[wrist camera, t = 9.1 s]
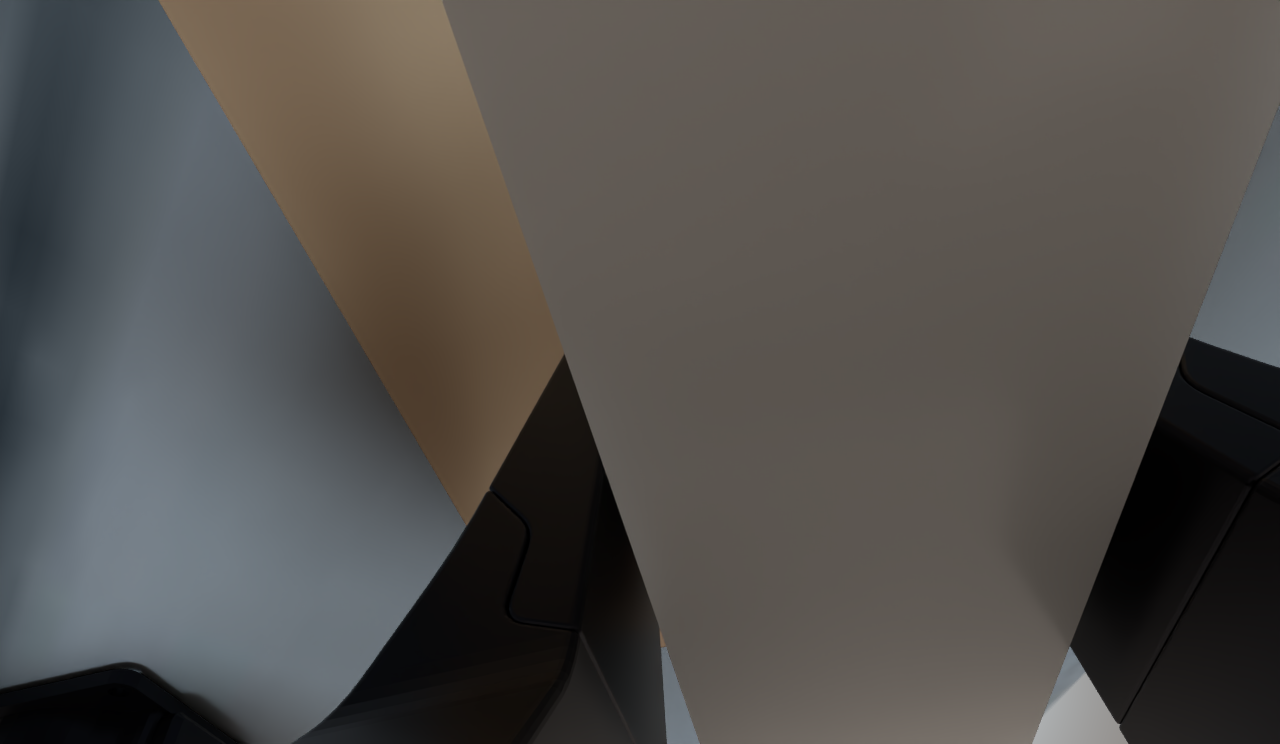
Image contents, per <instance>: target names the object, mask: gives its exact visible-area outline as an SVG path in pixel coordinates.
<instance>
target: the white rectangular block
mask: <svg viewBox="0 0 1280 744" xmlns="http://www.w3.org/2000/svg"><path fill="white" fill-rule="evenodd" d="M442 2H443V5H444V8H445V11H446V14H447V17H448V20H449V23H450V25H451V28H452V31H453V34H454V37H455V40H456V43H457V46H458V48H459V51H460V54H461V57H462V60H463V63H464V66H465V69H466V72H467V74H468V77H469V80H470V83H471V86H472V89H473V92H474V95H475V97H476V100H477V103H478V106H479V109H480V112H481V115H482V118H483V120H484V123H485V126H486V129H487V132H488V135H489V138H490V141H491V143H492V146H493V149H494V152H495V155H496V158H497V161H498V164H499V167H500V169H501V172H502V175H503V178H504V181H505V184H506V187H507V190H508V192H509V195H510V198H511V201H512V204H513V207H514V210H515V213H516V215H517V218H518V221H519V224H520V227H521V230H522V233H523V236H524V239H525V241H526V244H527V247H528V250H529V253H530V256H531V259H532V262H533V264H534V267H535V270H536V273H537V276H538V279H539V282H540V285H541V287H542V290H543V293H544V296H545V299H546V302H547V305H548V308H549V311H550V313H551V316H552V319H553V322H554V325H555V328H556V331H557V334H558V336H559V339H560V342H561V345H562V348H563V351H564V354H565V357H566V359H567V362H568V365H569V368H570V371H571V374H572V377H573V380H574V382H575V385H576V388H577V391H578V394H579V397H580V400H581V403H582V406H583V408H584V411H585V414H586V417H587V420H588V423H589V426H590V429H591V431H592V434H593V437H594V440H595V443H596V446H597V449H598V452H599V454H600V457H601V460H602V463H603V466H604V469H605V472H606V475H607V478H608V480H609V483H610V486H611V489H612V492H613V495H614V498H615V501H616V503H617V506H618V509H619V512H620V515H621V518H622V521H623V524H624V526H625V529H626V532H627V535H628V538H629V541H630V544H631V547H632V549H633V552H634V555H635V558H636V561H637V564H638V567H639V570H640V573H641V575H642V578H643V581H644V584H645V587H646V590H647V593H648V596H649V598H650V601H651V604H652V607H653V610H654V613H655V616H656V619H657V621H658V624H659V627H660V630H661V633H662V636H663V639H664V642H665V645H666V647H667V650H668V653H669V656H670V659H671V662H672V665H673V668H674V670H675V673H676V676H677V679H678V682H679V685H680V688H681V691H682V693H683V696H684V699H685V702H686V705H687V708H688V711H689V714H690V716H691V719H692V722H693V725H694V728H695V731H696V734H697V737H698V740H699V742H700V744H1032V742H1033V740H1034V737H1035V734H1036V732H1037V729H1038V727H1039V724H1040V722H1041V719H1042V716H1043V714H1044V711H1045V709H1046V706H1047V704H1048V701H1049V698H1050V696H1051V693H1052V691H1053V688H1054V685H1055V683H1056V680H1057V678H1058V675H1059V672H1060V670H1061V667H1062V665H1063V662H1064V660H1065V657H1066V654H1067V652H1068V649H1069V647H1070V644H1071V641H1072V639H1073V636H1074V634H1075V631H1076V629H1077V626H1078V623H1079V621H1080V618H1081V616H1082V613H1083V610H1084V608H1085V605H1086V603H1087V600H1088V598H1089V595H1090V592H1091V590H1092V587H1093V585H1094V582H1095V579H1096V577H1097V574H1098V572H1099V569H1100V566H1101V564H1102V561H1103V559H1104V556H1105V554H1106V551H1107V548H1108V546H1109V543H1110V541H1111V538H1112V535H1113V533H1114V530H1115V528H1116V525H1117V523H1118V520H1119V517H1120V515H1121V512H1122V510H1123V507H1124V504H1125V502H1126V499H1127V497H1128V494H1129V492H1130V489H1131V486H1132V484H1133V481H1134V479H1135V476H1136V473H1137V471H1138V468H1139V466H1140V463H1141V460H1142V458H1143V455H1144V453H1145V450H1146V448H1147V445H1148V442H1149V440H1150V437H1151V435H1152V432H1153V429H1154V427H1155V424H1156V422H1157V419H1158V417H1159V414H1160V411H1161V409H1162V406H1163V404H1164V401H1165V398H1166V396H1167V393H1168V391H1169V388H1170V386H1171V383H1172V380H1173V378H1174V375H1175V373H1176V370H1177V367H1178V365H1179V362H1180V360H1181V357H1182V354H1183V352H1184V349H1185V347H1186V344H1187V342H1188V339H1189V336H1190V334H1191V331H1192V329H1193V326H1194V323H1195V321H1196V318H1197V316H1198V313H1199V311H1200V308H1201V305H1202V303H1203V300H1204V298H1205V295H1206V292H1207V290H1208V287H1209V285H1210V282H1211V280H1212V277H1213V274H1214V272H1215V269H1216V267H1217V264H1218V261H1219V259H1220V256H1221V254H1222V251H1223V248H1224V246H1225V243H1226V241H1227V238H1228V236H1229V233H1230V230H1231V228H1232V225H1233V223H1234V220H1235V217H1236V215H1237V212H1238V210H1239V207H1240V205H1241V202H1242V199H1243V197H1244V194H1245V192H1246V189H1247V186H1248V184H1249V181H1250V179H1251V176H1252V174H1253V171H1254V168H1255V166H1256V163H1257V161H1258V158H1259V155H1260V153H1261V150H1262V148H1263V145H1264V142H1265V140H1266V137H1267V135H1268V132H1269V130H1270V127H1271V124H1272V122H1273V119H1274V117H1275V114H1276V111H1277V109H1278V106H1279V104H1280V0H442Z"/></svg>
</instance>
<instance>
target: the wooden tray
mask: <svg viewBox="0 0 1280 744" xmlns="http://www.w3.org/2000/svg"><path fill="white" fill-rule="evenodd" d="M159 2H160V4H161V5H162V7H163V9H164V10H165V12H166V14H167V16H168V17H169V19H170V21H171V22H172V24H173V26H174V28H175V29H176V31H177V33H178V34H179V36H180V38H181V40H182V41H183V43H184V45H185V46H186V48H187V50H188V51H189V53H190V55H191V57H192V58H193V60H194V62H195V63H196V65H197V67H198V69H199V70H200V72H201V74H202V75H203V77H204V79H205V80H206V82H207V84H208V86H209V87H210V89H211V91H212V92H213V94H214V96H215V98H216V99H217V101H218V103H219V104H220V106H221V108H222V109H223V111H224V113H225V115H226V116H227V118H228V120H229V121H230V123H231V125H232V127H233V128H234V130H235V132H236V133H237V135H238V137H239V139H240V140H241V142H242V144H243V145H244V147H245V149H246V150H247V152H248V154H249V156H250V157H251V159H252V161H253V162H254V164H255V166H256V168H257V169H258V171H259V173H260V174H261V176H262V178H263V179H264V181H265V183H266V185H267V186H268V188H269V190H270V191H271V193H272V195H273V197H274V198H275V200H276V202H277V203H278V205H279V207H280V208H281V210H282V212H283V214H284V215H285V217H286V219H287V220H288V222H289V224H290V226H291V227H292V229H293V231H294V232H295V234H296V236H297V237H298V239H299V241H300V243H301V244H302V246H303V248H304V249H305V251H306V253H307V255H308V256H309V258H310V260H311V261H312V263H313V265H314V267H315V268H316V270H317V272H318V273H319V275H320V277H321V278H322V280H323V282H324V284H325V285H326V287H327V289H328V290H329V292H330V294H331V296H332V297H333V299H334V301H335V302H336V304H337V306H338V307H339V309H340V311H341V313H342V314H343V316H344V318H345V319H346V321H347V323H348V325H349V326H350V328H351V330H352V331H353V333H354V335H355V336H356V338H357V340H358V342H359V343H360V345H361V347H362V348H363V350H364V352H365V354H366V355H367V357H368V359H369V360H370V362H371V364H372V366H373V367H374V369H375V371H376V372H377V374H378V376H379V377H380V379H381V381H382V383H383V384H384V386H385V388H386V389H387V391H388V393H389V395H390V396H391V398H392V400H393V401H394V403H395V405H396V406H397V408H398V410H399V412H400V413H401V415H402V417H403V418H404V420H405V422H406V424H407V425H408V427H409V429H410V430H411V432H412V434H413V435H414V437H415V439H416V441H417V442H418V444H419V446H420V447H421V449H422V451H423V453H424V454H425V456H426V458H427V459H428V461H429V463H430V465H431V466H432V468H433V470H434V471H435V473H436V475H437V476H438V478H439V480H440V482H441V483H442V485H443V487H444V488H445V490H446V492H447V494H448V495H449V497H450V499H451V500H452V502H453V504H454V505H455V507H456V509H457V511H458V512H459V514H460V516H461V517H462V519H463V521H464V523H465V524H466V526H467V524H468V523H469V521H470V519H471V518H472V516H473V514H474V513H475V511H476V509H477V507H478V506H479V504H480V502H481V500H482V498H483V497H484V495H485V493H486V492H488V491H489V487H490V485H491V483H492V481H493V479H494V478H495V476H496V474H497V472H498V470H499V469H500V467H501V465H502V463H503V462H504V460H505V458H506V456H507V454H508V453H509V451H510V449H511V447H512V446H513V444H514V442H515V440H516V438H517V437H518V435H519V433H520V431H521V430H522V428H523V426H524V424H525V422H526V421H527V419H528V417H529V415H530V413H531V412H532V410H533V408H534V406H535V405H536V403H537V401H538V399H539V397H540V396H541V394H542V392H543V390H544V389H545V387H546V385H547V383H548V381H549V380H550V378H551V376H552V374H553V372H554V371H555V369H556V367H557V365H558V364H559V362H560V360H561V358H562V356H563V355H564V351H563V348H562V345H561V342H560V339H559V336H558V334H557V331H556V328H555V325H554V322H553V319H552V316H551V313H550V311H549V308H548V305H547V302H546V299H545V296H544V293H543V290H542V287H541V285H540V282H539V279H538V276H537V273H536V270H535V267H534V264H533V262H532V259H531V256H530V253H529V250H528V247H527V244H526V241H525V239H524V236H523V233H522V230H521V227H520V224H519V221H518V218H517V215H516V213H515V210H514V207H513V204H512V201H511V198H510V195H509V192H508V190H507V187H506V184H505V181H504V178H503V175H502V172H501V169H500V167H499V164H498V161H497V158H496V155H495V152H494V149H493V146H492V143H491V141H490V138H489V135H488V132H487V129H486V126H485V123H484V120H483V118H482V115H481V112H480V109H479V106H478V103H477V100H476V97H475V95H474V92H473V89H472V86H471V83H470V80H469V77H468V74H467V72H466V69H465V66H464V63H463V60H462V57H461V54H460V51H459V48H458V46H457V43H456V40H455V37H454V34H453V31H452V28H451V25H450V23H449V20H448V17H447V14H446V11H445V8H444V5H443V2H442V0H159ZM660 643H661V647H666V645H665V642H664V639H663V636H662V633H661V630H660Z"/></svg>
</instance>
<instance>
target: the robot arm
mask: <svg viewBox="0 0 1280 744" xmlns="http://www.w3.org/2000/svg"><path fill="white" fill-rule="evenodd" d="M1070 647H1071V648H1072V650H1073V652H1074V653H1075V655H1076V657H1077V658H1078V660H1079V662H1080V663H1081V665H1082V667H1083V668H1084V670H1085V672H1086V673H1087V675H1088V677H1089V678H1090V680H1091V681H1092V683H1093V685H1094V687H1095V688H1096V690H1097V692H1098V693H1099V695H1100V697H1101V698H1102V700H1103V701H1104V703H1105V705H1106V706H1107V708H1108V710H1109V711H1110V713H1111V715H1112V716H1113V718H1114V719H1115V721H1116V722H1117V723H1118V724H1121V725H1120V727H1119V728H1120V731H1121V732H1122V734H1123V735H1124V737H1125V739H1126V740H1127V742H1128V744H1280V368H1279V367H1275V366H1272V365H1269V364H1266V363H1263V362H1260V361H1257V360H1254V359H1251V358H1248V357H1245V356H1242V355H1239V354H1236V353H1233V352H1230V351H1227V350H1225V349H1222V348H1219V347H1216V346H1213V345H1210V344H1207V343H1205V342H1202V341H1199V340H1196V339H1193V338H1191V337H1189V339H1188V342H1187V344H1186V347H1185V349H1184V352H1183V354H1182V357H1181V360H1180V362H1179V365H1178V367H1177V370H1176V373H1175V375H1174V378H1173V380H1172V383H1171V386H1170V388H1169V391H1168V393H1167V396H1166V398H1165V401H1164V404H1163V406H1162V409H1161V411H1160V414H1159V417H1158V419H1157V422H1156V424H1155V427H1154V429H1153V432H1152V435H1151V437H1150V440H1149V442H1148V445H1147V448H1146V450H1145V453H1144V455H1143V458H1142V460H1141V463H1140V466H1139V468H1138V471H1137V473H1136V476H1135V479H1134V481H1133V484H1132V486H1131V489H1130V492H1129V494H1128V497H1127V499H1126V502H1125V504H1124V507H1123V510H1122V512H1121V515H1120V517H1119V520H1118V523H1117V525H1116V528H1115V530H1114V533H1113V535H1112V538H1111V541H1110V543H1109V546H1108V548H1107V551H1106V554H1105V556H1104V559H1103V561H1102V564H1101V566H1100V569H1099V572H1098V574H1097V577H1096V579H1095V582H1094V585H1093V587H1092V590H1091V592H1090V595H1089V598H1088V600H1087V603H1086V605H1085V608H1084V610H1083V613H1082V616H1081V618H1080V621H1079V623H1078V626H1077V629H1076V631H1075V634H1074V636H1073V639H1072V641H1071V644H1070ZM0 744H238V743H236V742H235V741H233V740H232V739H231V738H229V737H228V736H227V735H225V734H224V733H222V732H221V731H220V730H218V729H217V728H215V727H214V726H213V725H211V724H210V723H209V722H207V721H206V720H204V719H203V718H202V717H200V716H199V715H198V714H196V713H195V712H193V711H192V710H191V709H189V708H188V707H187V706H185V705H184V704H182V703H181V702H180V701H178V700H177V699H175V698H174V697H173V696H171V695H170V694H169V693H167V692H166V691H164V690H163V689H162V688H160V687H159V686H158V685H156V684H155V683H153V682H152V681H151V680H149V679H148V678H146V677H145V676H144V675H142V674H140V673H138V672H136V671H133V670H128V669H115V670H109V671H105V672H100V673H96V674H91V675H87V676H82V677H78V678H73V679H69V680H64V681H60V682H55V683H51V684H46V685H42V686H37V687H33V688H28V689H24V690H19V691H15V692H10V693H5V694H1V695H0ZM291 744H667V739H666V723H665V707H664V691H663V675H662V659H661V643H660V627H659V624H658V621H657V619H656V616H655V613H654V610H653V607H652V604H651V601H650V598H649V596H648V593H647V590H646V587H645V584H644V581H643V578H642V575H641V573H640V570H639V567H638V564H637V561H636V558H635V555H634V552H633V549H632V547H631V544H630V541H629V538H628V535H627V532H626V529H625V526H624V524H623V521H622V518H621V515H620V512H619V509H618V506H617V503H616V501H615V498H614V495H613V492H612V489H611V486H610V483H609V480H608V478H607V475H606V472H605V469H604V466H603V463H602V460H601V457H600V454H599V452H598V449H597V446H596V443H595V440H594V437H593V434H592V431H591V429H590V426H589V423H588V420H587V417H586V414H585V411H584V408H583V406H582V403H581V400H580V397H579V394H578V391H577V388H576V385H575V382H574V380H573V377H572V374H571V371H570V368H569V365H568V362H567V359H566V357H565V354H564V355H563V356H562V358H561V360H560V362H559V364H558V365H557V367H556V369H555V371H554V372H553V374H552V376H551V378H550V380H549V381H548V383H547V385H546V387H545V389H544V390H543V392H542V394H541V396H540V397H539V399H538V401H537V403H536V405H535V406H534V408H533V410H532V412H531V413H530V415H529V417H528V419H527V421H526V422H525V424H524V426H523V428H522V430H521V431H520V433H519V435H518V437H517V438H516V440H515V442H514V444H513V446H512V447H511V449H510V451H509V453H508V454H507V456H506V458H505V460H504V462H503V463H502V465H501V467H500V469H499V470H498V472H497V474H496V476H495V478H494V479H493V481H492V483H491V485H490V487H489V491H488V492H486V493H485V495H484V497H483V498H482V500H481V502H480V504H479V506H478V507H477V509H476V511H475V513H474V514H473V516H472V518H471V519H470V521H469V523H468V524H467V526H466V528H465V529H464V531H463V533H462V534H461V536H460V538H459V539H458V541H457V543H456V544H455V546H454V548H453V549H452V551H451V552H450V554H449V555H448V556H447V558H446V559H445V561H444V562H443V564H442V565H441V567H440V568H439V570H438V571H437V573H436V574H435V576H434V577H433V579H432V580H431V581H430V583H429V584H428V586H427V587H426V589H425V590H424V591H423V593H422V594H421V596H420V597H419V598H418V600H417V601H416V603H415V604H414V605H413V607H412V608H411V610H410V611H409V612H408V614H407V615H406V617H405V618H404V619H403V621H402V622H401V624H400V625H399V626H398V628H397V629H396V631H395V632H394V633H393V635H392V636H391V637H390V639H389V640H388V642H387V643H386V644H385V646H384V647H383V649H382V650H381V651H380V653H379V654H378V656H377V657H376V658H375V660H374V661H373V663H372V664H371V665H370V667H369V668H368V670H367V671H366V672H365V674H364V675H363V677H362V678H361V679H360V680H359V682H358V683H357V684H356V686H355V687H354V688H353V689H352V691H351V692H350V693H349V694H348V696H347V697H346V698H345V699H344V700H343V701H342V702H341V703H340V704H339V706H338V707H337V708H336V709H335V710H334V711H333V712H332V713H331V714H330V715H328V716H327V717H326V718H325V719H324V720H323V721H322V722H321V723H320V724H318V725H317V726H316V727H314V728H313V729H312V730H311V731H309V732H308V733H307V734H305V735H304V736H302V737H301V738H299V739H298V740H296V741H294V742H293V743H291Z"/></svg>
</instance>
